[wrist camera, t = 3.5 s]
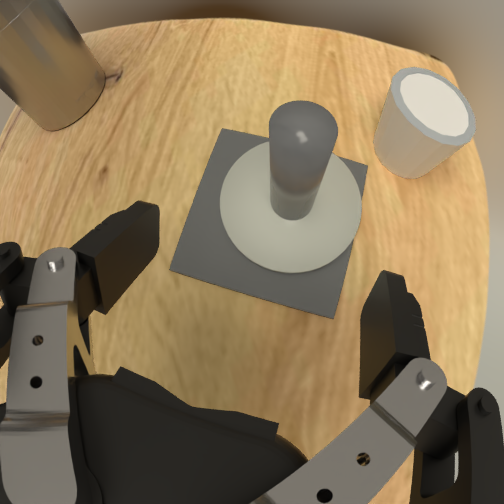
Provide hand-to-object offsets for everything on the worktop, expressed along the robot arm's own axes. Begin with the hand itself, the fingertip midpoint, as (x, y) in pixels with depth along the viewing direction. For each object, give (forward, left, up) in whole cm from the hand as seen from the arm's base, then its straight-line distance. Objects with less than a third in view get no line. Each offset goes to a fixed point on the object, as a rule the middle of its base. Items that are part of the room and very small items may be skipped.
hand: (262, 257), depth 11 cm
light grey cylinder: (+8, +14, -11) cm, 20 cm away
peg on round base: (0, +6, -11) cm, 12 cm away
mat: (-1, +5, -11) cm, 12 cm away
